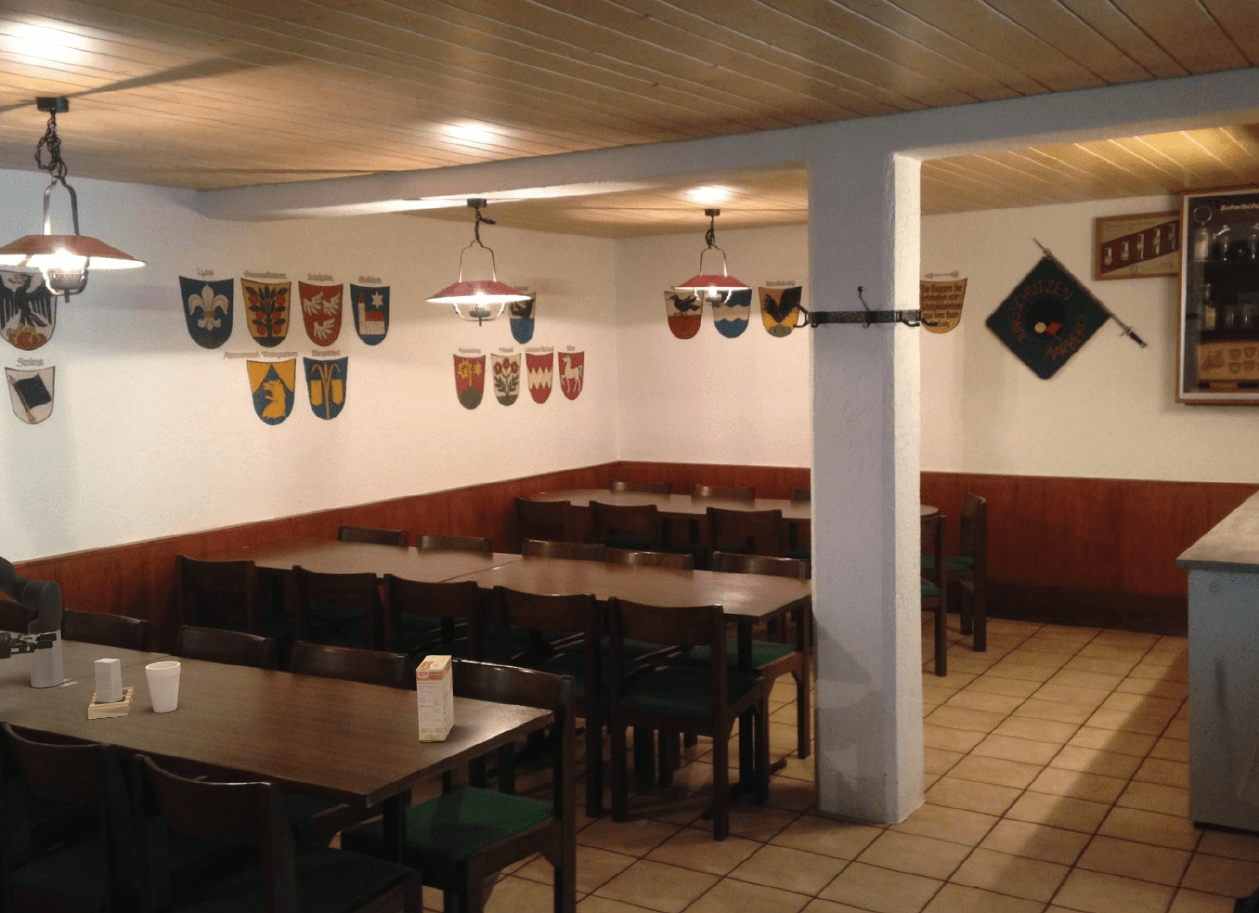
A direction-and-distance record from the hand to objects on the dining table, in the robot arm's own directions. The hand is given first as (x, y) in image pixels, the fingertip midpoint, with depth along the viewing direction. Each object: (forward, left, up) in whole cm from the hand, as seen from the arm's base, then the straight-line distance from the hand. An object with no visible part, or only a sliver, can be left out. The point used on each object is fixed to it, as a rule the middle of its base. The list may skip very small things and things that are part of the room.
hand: (54, 640), depth 346 cm
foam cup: (+7, +29, -22) cm, 37 cm away
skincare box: (+2, +14, -19) cm, 24 cm away
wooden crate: (-1, +14, -22) cm, 26 cm away
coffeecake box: (+62, +99, -22) cm, 119 cm away
